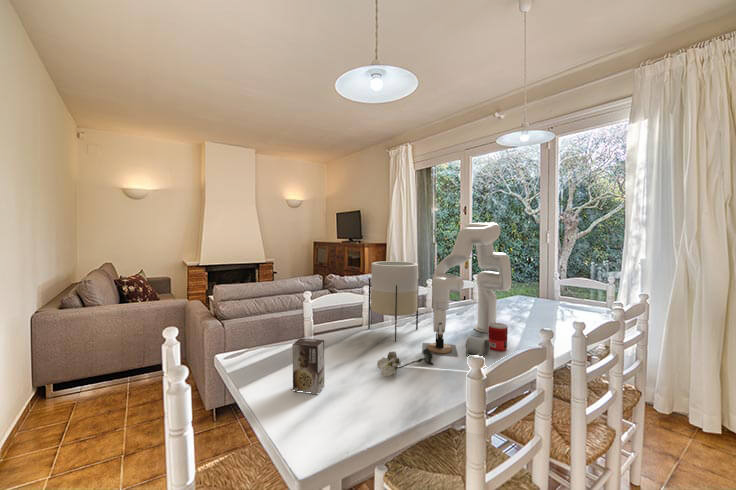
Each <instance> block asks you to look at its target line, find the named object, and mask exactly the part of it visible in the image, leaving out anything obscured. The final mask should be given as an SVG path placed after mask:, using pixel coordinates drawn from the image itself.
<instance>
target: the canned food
mask: <svg viewBox="0 0 736 490" xmlns="http://www.w3.org/2000/svg"><path fill="white" fill-rule="evenodd" d="M508 329H509V328H508V325H507V324H506V323H503V322H496V323H490V324H489V333H488V337H487V339H488V340H489V342H490V350H491V351H493V352H499V353H501V352H506V351H507V349H508V334H509V333H508V331H509V330H508Z"/></svg>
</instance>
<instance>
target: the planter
mask: <svg viewBox="0 0 736 490" xmlns="http://www.w3.org/2000/svg"><path fill="white" fill-rule="evenodd" d="M419 281H420V280H419V263H417V262H411V261H397V260H394V261H392V260H391V261H387V260H386V261H383V260H382V261H375V262H371V278H370V277H369V278H368V315H367V317H368V320H367V323H368V325H367V326H368V327H367V329H368V330H370V329H371V311H372V312H373V313H374V314H379V315H382V316H390V317H391V316H392V317H394V321H395V322H394V342H395V343H397V323H398V322H397V318H398V317H402V316H404V317H405V316H410V315H413V314H416V315H415V317H416V318H415V322H416V323H415V330H416V331H417V330H418V328H419V327H418V326H419V325H418V323H419Z"/></svg>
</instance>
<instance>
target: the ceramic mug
mask: <svg viewBox="0 0 736 490" xmlns="http://www.w3.org/2000/svg"><path fill="white" fill-rule="evenodd" d="M490 350H491V349H490V342H489V340H488V338H485V337H484V338H483V337H478V336H470V337H468V338H467V339H466V342H465V356H466V357H467V356H468V355H469V354H472V355H480V356H479V357H481V356H483V357H482V358H484V357H485V356H484V355H486V356H489V354H490ZM468 353H469V354H468Z"/></svg>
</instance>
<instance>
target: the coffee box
mask: <svg viewBox="0 0 736 490" xmlns="http://www.w3.org/2000/svg"><path fill="white" fill-rule="evenodd" d="M291 350H292V391H293V390H295V391H303V392H311V393H319V392H320V390H321V389H322V388H323V387H324V388H325V340H324V339H316V338H315V339H314V338H303V337H302V338H301V337H300V338H299V339H297V340H295V342H294V343H292V349H291ZM324 388H323V389H324ZM323 389H322V390H323ZM320 393H321V392H320ZM320 393H319V394H320Z"/></svg>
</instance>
